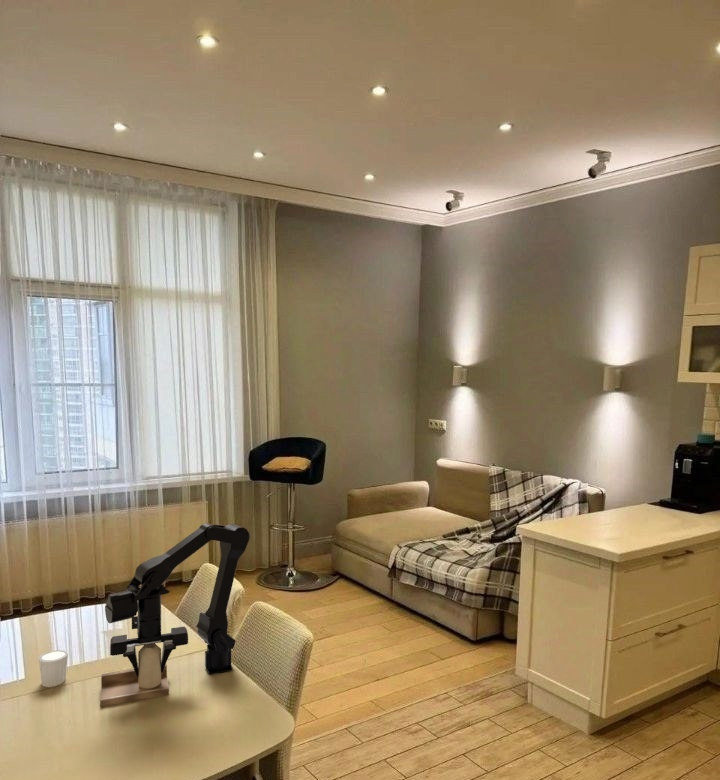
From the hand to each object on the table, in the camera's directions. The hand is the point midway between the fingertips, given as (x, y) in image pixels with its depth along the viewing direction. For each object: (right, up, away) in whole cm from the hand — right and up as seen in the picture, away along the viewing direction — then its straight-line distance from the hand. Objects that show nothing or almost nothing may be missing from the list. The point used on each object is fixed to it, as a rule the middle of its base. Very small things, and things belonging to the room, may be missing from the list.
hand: (149, 673), depth 156 cm
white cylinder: (-27, -5, +5) cm, 28 cm away
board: (-4, -4, -1) cm, 6 cm away
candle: (0, -3, 0) cm, 3 cm away
